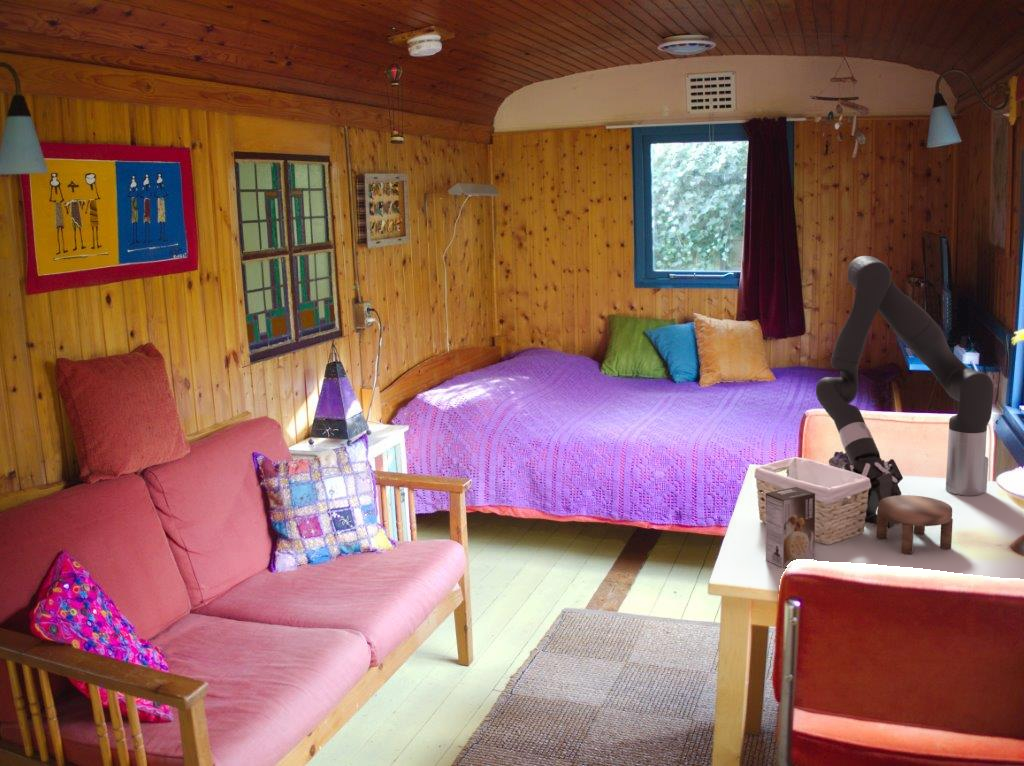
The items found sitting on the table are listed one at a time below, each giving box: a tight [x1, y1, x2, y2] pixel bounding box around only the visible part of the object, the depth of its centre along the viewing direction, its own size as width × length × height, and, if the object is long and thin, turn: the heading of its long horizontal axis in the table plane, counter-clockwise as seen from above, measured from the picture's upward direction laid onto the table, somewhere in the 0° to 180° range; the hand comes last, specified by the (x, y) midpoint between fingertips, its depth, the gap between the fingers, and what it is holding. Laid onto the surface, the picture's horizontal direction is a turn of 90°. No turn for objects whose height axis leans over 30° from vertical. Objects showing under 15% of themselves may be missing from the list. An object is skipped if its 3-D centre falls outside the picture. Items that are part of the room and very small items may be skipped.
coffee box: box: [765, 487, 816, 569], centre depth 221 cm, size 9×6×16 cm
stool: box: [875, 494, 954, 556], centre depth 229 cm, size 16×16×9 cm
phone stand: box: [860, 472, 899, 529], centre depth 244 cm, size 9×6×12 cm, turn 40°
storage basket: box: [754, 456, 871, 546], centre depth 241 cm, size 24×16×15 cm
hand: (882, 500), depth 243 cm, fingers open, 8 cm apart
